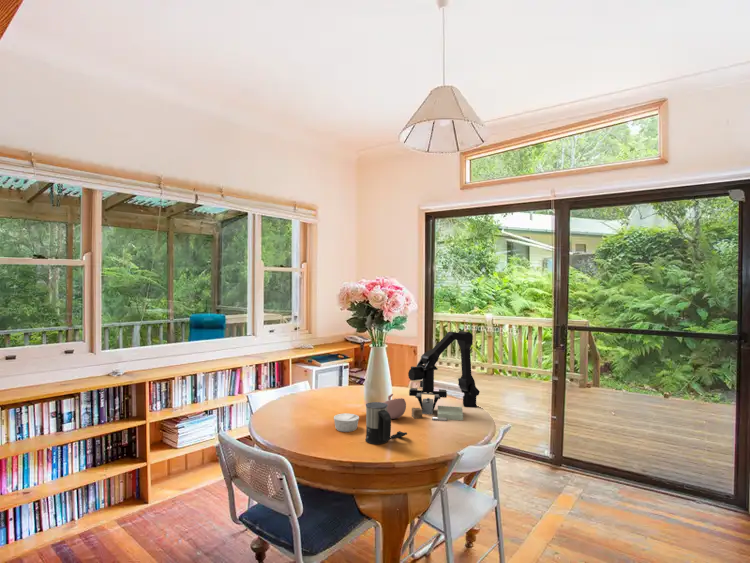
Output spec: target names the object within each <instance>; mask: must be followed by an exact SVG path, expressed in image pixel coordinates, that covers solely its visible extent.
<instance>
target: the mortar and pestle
mask: <svg viewBox="0 0 750 563" xmlns="http://www.w3.org/2000/svg"><path fill="white" fill-rule="evenodd" d="M393 395H394V394H393V393H390V395H388V396H387V399H388V400H385V401H383V402H382V403H386V404H388V406H387V412H388V413H389V414H390V417H391V420H394V419H400V418H401V417H402V416H404V414H405V412H406V410H407V402H406V399H405V398H402V397H400V398H394V399H391V398H392V397H393Z"/></svg>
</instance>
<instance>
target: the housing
mask: <svg viewBox="0 0 750 563" xmlns="http://www.w3.org/2000/svg"><path fill="white" fill-rule="evenodd" d="M433 403H434V398H430V397H426V398H422V415H431V414H433V415H434V410H433Z"/></svg>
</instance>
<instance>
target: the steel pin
mask: <svg viewBox="0 0 750 563" xmlns="http://www.w3.org/2000/svg"><path fill="white" fill-rule="evenodd" d="M431 418H432V419H431V420H432V421H440V422H447V421H448V420H447V418H443V417H438V416H432V417H431Z"/></svg>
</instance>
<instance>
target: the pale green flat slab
mask: <svg viewBox="0 0 750 563" xmlns="http://www.w3.org/2000/svg"><path fill="white" fill-rule="evenodd" d="M437 417H443V418H447V421H450V420H451V421H452V420H453V421H464V412H463V407H462V406H451V405H450V406H449V405H447V406H446V405H438V406H437Z"/></svg>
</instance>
